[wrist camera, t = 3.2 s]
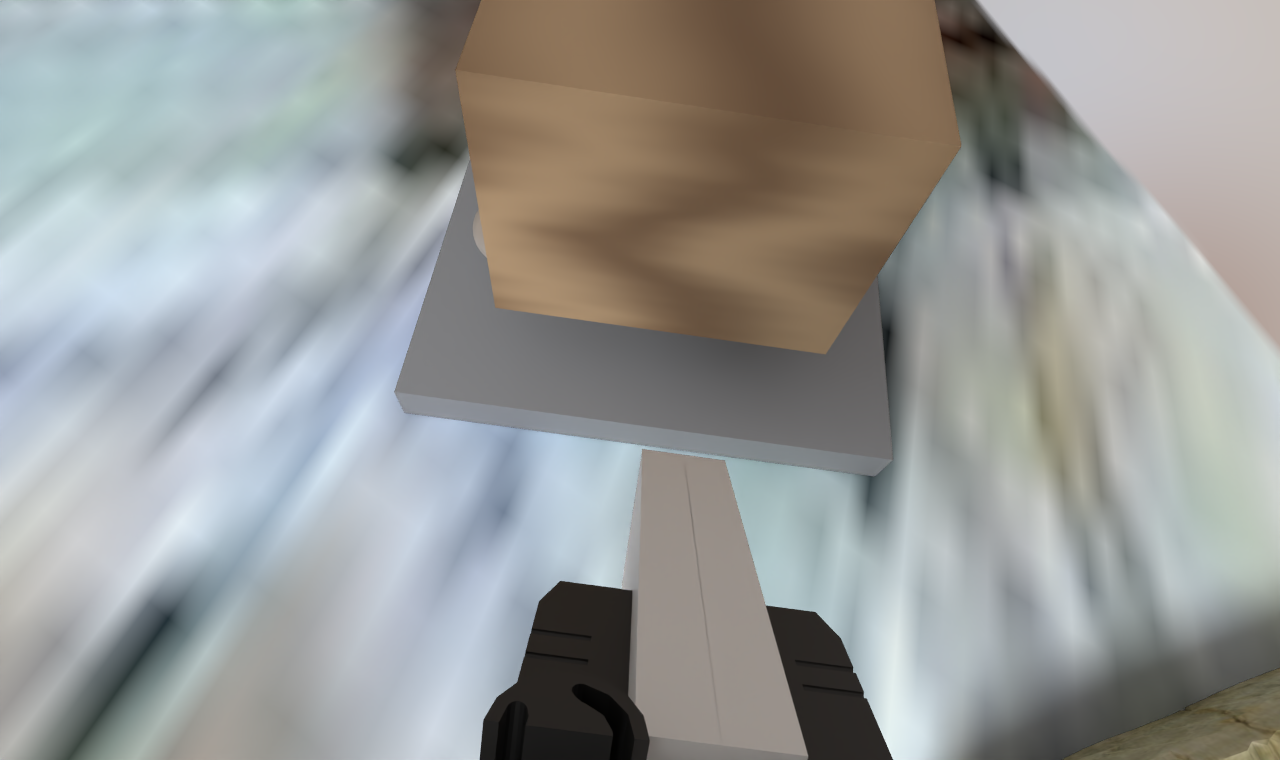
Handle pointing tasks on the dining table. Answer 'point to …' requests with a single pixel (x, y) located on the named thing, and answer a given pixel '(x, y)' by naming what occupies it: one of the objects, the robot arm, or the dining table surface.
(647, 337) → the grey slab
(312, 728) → the dining table surface
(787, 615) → the robot arm
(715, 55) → the oak block
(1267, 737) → the decorative tile
